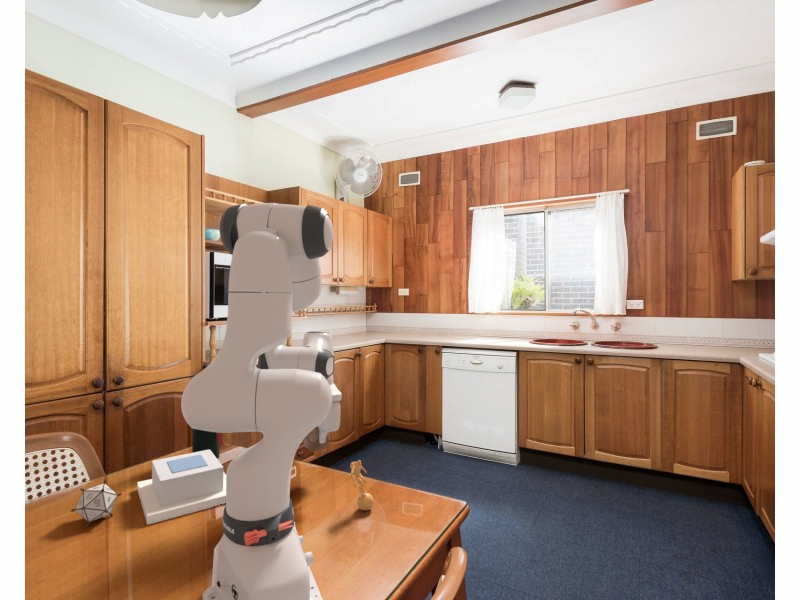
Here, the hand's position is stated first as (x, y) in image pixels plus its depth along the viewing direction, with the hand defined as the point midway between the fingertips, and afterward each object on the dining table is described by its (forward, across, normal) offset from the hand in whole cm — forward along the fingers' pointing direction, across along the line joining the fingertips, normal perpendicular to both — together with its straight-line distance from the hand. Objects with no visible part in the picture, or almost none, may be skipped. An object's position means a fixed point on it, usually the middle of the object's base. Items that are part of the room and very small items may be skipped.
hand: (316, 439), depth 121 cm
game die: (+12, -10, -50) cm, 52 cm away
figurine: (+12, +20, +2) cm, 24 cm away
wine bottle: (+11, -32, -21) cm, 39 cm away
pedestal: (+12, -11, -31) cm, 34 cm away
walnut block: (+2, 0, 0) cm, 2 cm away
